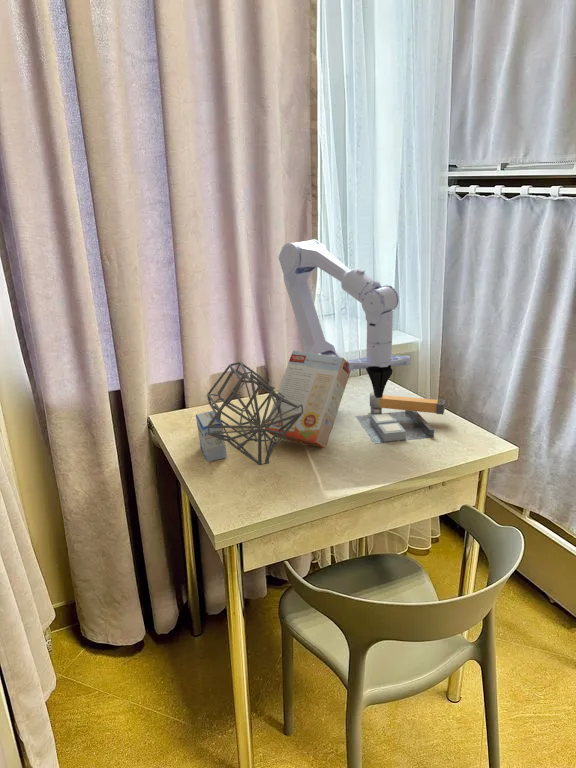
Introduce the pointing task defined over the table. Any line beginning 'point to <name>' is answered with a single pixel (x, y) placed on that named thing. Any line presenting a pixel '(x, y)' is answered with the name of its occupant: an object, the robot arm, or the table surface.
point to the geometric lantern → (257, 420)
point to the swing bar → (408, 403)
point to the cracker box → (311, 396)
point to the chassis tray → (407, 419)
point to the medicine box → (210, 437)
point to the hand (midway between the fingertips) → (378, 396)
